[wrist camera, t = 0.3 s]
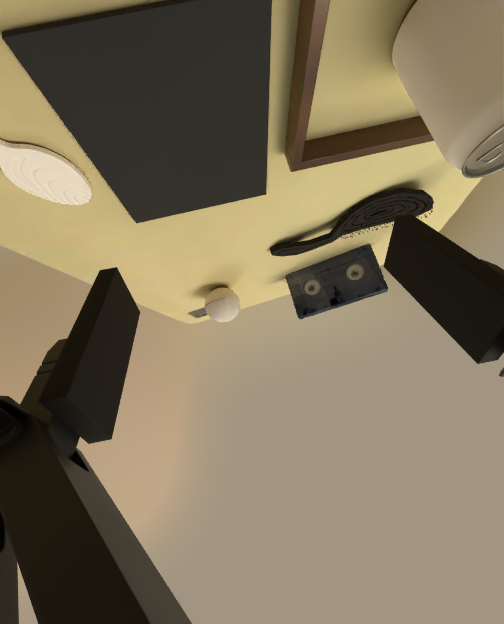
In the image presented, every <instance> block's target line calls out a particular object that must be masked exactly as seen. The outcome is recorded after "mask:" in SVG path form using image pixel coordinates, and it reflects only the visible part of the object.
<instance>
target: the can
mask: <svg viewBox="0 0 504 624" xmlns="http://www.w3.org/2000/svg"><path fill="white" fill-rule="evenodd" d="M392 61H393V65H394V68H395V70H396V72H397V74H398V76H399V78H400V79H401V81H402V83H403V85H404V87H405V89H406V90H407V92H408V94H409V96H410V98H411V99H412V101H413V103H414V105H415V107H416V108H417V110H418V112H419V114H420V115H421V117H422V119H423V121H424V123H425V124H426V126H427V128H428V130H429V132H430V133H431V135H432V137H433V139H434V140H435V142H436V144H437V146H438V147H439V149H440V151H441V153H442V154H443V156H444V157H445V159H446V160H447V162H448V163H449V164H450V165H452V166H454V167H456V168H458V169H461V170H462V174H463V175H464V176H465V177H467V178H478V177H483V176H486V175H489V174H492V173H495V172H497V171H499V170H502V169H504V0H417V1H416V2H415V3H414V5H413V6H412V7H411V9H410V10H409V12H408V13H407V15H406V17H405V19H404V20H403V22H402V24H401V26H400V29H399V31H398V34H397V36H396V39H395V42H394V46H393V52H392Z"/></svg>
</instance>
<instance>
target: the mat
mask: <svg viewBox="0 0 504 624" xmlns="http://www.w3.org/2000/svg"><path fill="white" fill-rule="evenodd" d="M271 6H272V0H167V1H162V2H157V3H152V4H147V5H141V6H136V7H131V8H126V9H120V10H115V11H110V12H105V13H99V14H94V15H89V16H84V17H78V18H73V19H68V20H63V21H58V22H52V23H47V24H42V25H37V26H31V27H26V28H21V29H16V30H10V31H5V32H2V38H3V39H4V41H5V42H6V44H7V45H8V46H9V48H10V49H11V50H12V52H13V53H14V55H15V56H16V57H17V59H18V60H19V61H20V63H21V64H22V66H23V67H24V68H25V70H26V71H27V73H28V74H29V75H30V77H31V78H32V79H33V81H34V82H35V84H36V85H37V86H38V88H39V89H40V91H41V92H42V93H43V95H44V96H45V97H46V99H47V100H48V102H49V103H50V104H51V106H52V107H53V109H54V110H55V111H56V113H57V114H58V115H59V117H60V118H61V120H62V121H63V122H64V124H65V125H66V126H67V128H68V129H69V131H70V132H71V133H72V135H73V136H74V138H75V139H76V140H77V142H78V143H79V144H80V146H81V147H82V149H83V150H84V151H85V153H86V154H87V156H88V157H89V158H90V160H91V161H92V162H93V164H94V165H95V167H96V168H97V169H98V171H99V172H100V174H101V175H102V176H103V178H104V179H105V180H106V182H107V183H108V185H109V186H110V187H111V189H112V190H113V191H114V193H115V194H116V196H117V197H118V198H119V200H120V201H121V203H122V204H123V205H124V207H125V208H126V209H127V211H128V212H129V214H130V215H131V216H132V218H133V219H134V221H135V222H136V223H140V222H144V221H149V220H153V219H158V218H162V217H167V216H171V215H176V214H180V213H185V212H189V211H194V210H198V209H203V208H207V207H211V206H216V205H220V204H225V203H229V202H234V201H238V200H243V199H247V198H252V197H256V196H261V195H265V194H266V179H267V144H268V110H269V75H270V41H271Z"/></svg>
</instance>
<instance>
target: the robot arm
mask: <svg viewBox="0 0 504 624" xmlns="http://www.w3.org/2000/svg"><path fill="white" fill-rule="evenodd" d="M384 267H385V268H386V269H387V270H388V272H390V274H391V275H392V276H393V277H394V278H395V279H396V280H397V281H398V282H399V283H400V284H401V285H402V286H403V287H404V288H405V289H406V290H407V291H408V292H409V293H410V294H411V295H412V296H413V297H414V298H415V299H416V301H417V302H418V303H419V304H420V305H421V306H422V307H423V308H424V309H425V310H426V311H427V312H428V313H429V314H430V315H431V316H432V317H433V318H434V319H435V320H436V321H437V322H438V323H439V324H440V325H441V326H442V327H443V329H445V331H446V332H447V333H448V334H449V335H450V336H451V337H452V338H453V339H454V340H455V341H456V342H457V343H458V344H459V345H460V346H461V347H462V348H463V349H464V350H465V351H466V352H467V353H468V354H469V355H470V357H472V359H473V360H474V361H475V362H476V363H477V364H480V363H485V362H490V361H495V360H498V359H499V358H500V356H501V355H502V354H503V353H504V270H503V269H502V268H500V267H498V266H497V265H494V264H492V263H489V262H487V261H484V260H481V259H480V260H479V259H478V258H476V257H475V256H473V255H472V254H470V253H469V252H467V251H466V250H464V249H463V248H461V247H460V246H458V245H457V244H455V243H454V242H452V241H451V240H449V239H448V238H446V237H445V236H443V235H442V234H440V233H439V232H437V231H436V230H434V229H433V228H431V227H430V226H428V225H427V224H425V223H424V222H422V221H421V220H419V219H418V218H416V217H415V216H413V215H412V214H410V215H404V216H399V217H395V222H394V226H393V230H392V234H391V238H390V242H389V246H388V251H387V255H386V259H385V263H384ZM139 315H140V311H139V309H138V307H137V305H136V303H135V301H134V299H133V298H132V296H131V294H130V292H129V290H128V288H127V286H126V284H125V282H124V280H123V278H122V276H121V274H120V272H119V271H118V269H117V267H116V268H110V269H105V270H100V271H99V273H98V275H97V277H96V279H95V282H94V284H93V286H92V288H91V290H90V292H89V294H88V296H87V298H86V301H85V303H84V305H83V307H82V309H81V311H80V313H79V315H78V318H77V320H76V322H75V324H74V326H73V328H72V330H71V332H70V334H69V337H68V338H67V339H62V340H58V341H57V343H56V344H55V345H54V346H53V347H52V348H51V349H50V350H49V351H48V352H47V354H46V356H45V358H44V360H43V362H42V366H40V368H39V369H38V371H37V375H36V376H35V377H34V379H33V381H32V383H31V385H30V387H29V389H28V390H27V392H26V395H25V396H24V398H23V400H22V402H21V404H18V403H17V402H15V401H14V400H13V399H12V398H10V397H9V396H0V624H19V614H18V577H17V576H18V574H17V562H18V565H19V568H20V571H21V574H22V577H23V579H24V583H25V585H26V588H27V591H28V594H29V597H30V600H31V603H32V606H33V609H34V612H35V615H36V618H37V621H38V624H192V623H191V622H190V620H189V618H188V617H187V615H186V614H185V612H184V611H183V609H182V608H181V606H180V604H179V603H178V601H177V600H176V598H175V597H174V595H173V594H172V592H171V591H170V589H169V587H168V586H167V585H166V583H165V581H164V580H163V578H162V577H161V575H160V573H159V572H158V570H157V569H156V567H155V566H154V564H153V563H152V561H151V559H150V558H149V557H148V555H147V553H146V552H145V550H144V549H143V547H142V545H141V544H140V542H139V541H138V539H137V538H136V536H135V535H134V533H133V532H132V530H131V528H130V527H129V525H128V524H127V522H126V521H125V519H124V518H123V516H122V514H121V513H120V511H119V510H118V508H117V507H116V505H115V504H114V502H113V501H112V499H111V497H110V496H109V494H108V493H107V491H106V490H105V488H104V486H103V485H102V483H101V482H100V480H99V479H98V477H97V476H96V474H95V473H94V471H93V469H92V468H91V466H90V465H89V463H88V462H87V460H86V459H85V457H84V455H83V454H82V452H81V451H79V450H78V449H77V448H76V447H77V444H78V440H79V438H80V437H81V438H83V439H84V440H85V441H86V442H87V443H89V444H90V443H95V442H100V441H105V440H110V439H112V435H113V431H114V426H115V422H116V417H117V413H118V408H119V404H120V399H121V395H122V391H123V386H124V381H125V377H126V373H127V368H128V364H129V359H130V355H131V351H132V346H133V342H134V337H135V333H136V328H137V323H138V319H139ZM499 376H502V377H503V376H504V368H503V369H502V370H501V372H500V374H499Z"/></svg>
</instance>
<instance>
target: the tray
mask: <svg viewBox="0 0 504 624" xmlns="http://www.w3.org/2000/svg"><path fill="white" fill-rule="evenodd" d="M329 4H330V0H300V7H299V17H298V27H297V37H296V47H295V57H294V66H293V76H292V86H291V96H290V106H289V116H288V126H287V135H286V146H285V156H286V159H287V162H288V165H289V168H290V171H291V172H294V171H298V170H303V169H307V168H312V167H316V166H321V165H325V164H330V163H334V162H339V161H344V160H348V159H353V158H357V157H362V156H366V155H371V154H375V153H380V152H384V151H389V150H393V149H398V148H402V147H407V146H411V145H416V144H420V143H425V142H430V141H434V139H433V137H432V135H431V133H430V132H429V130H428V128H427V126H426V124H425V123H424V121H423V119H422V117H421V116H420V117H416V118H411V119H406V120H402V121H397V122H393V123H388V124H383V125H379V126H374V127H369V128H365V129H360V130H356V131H351V132H346V133H342V134H337V135H333V136H328V137H323V138H319V139H314V140H310V141H305V139H306V133H307V128H308V122H309V116H310V111H311V105H312V100H313V94H314V88H315V83H316V77H317V71H318V66H319V60H320V54H321V49H322V43H323V37H324V32H325V26H326V20H327V15H328V9H329Z"/></svg>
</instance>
